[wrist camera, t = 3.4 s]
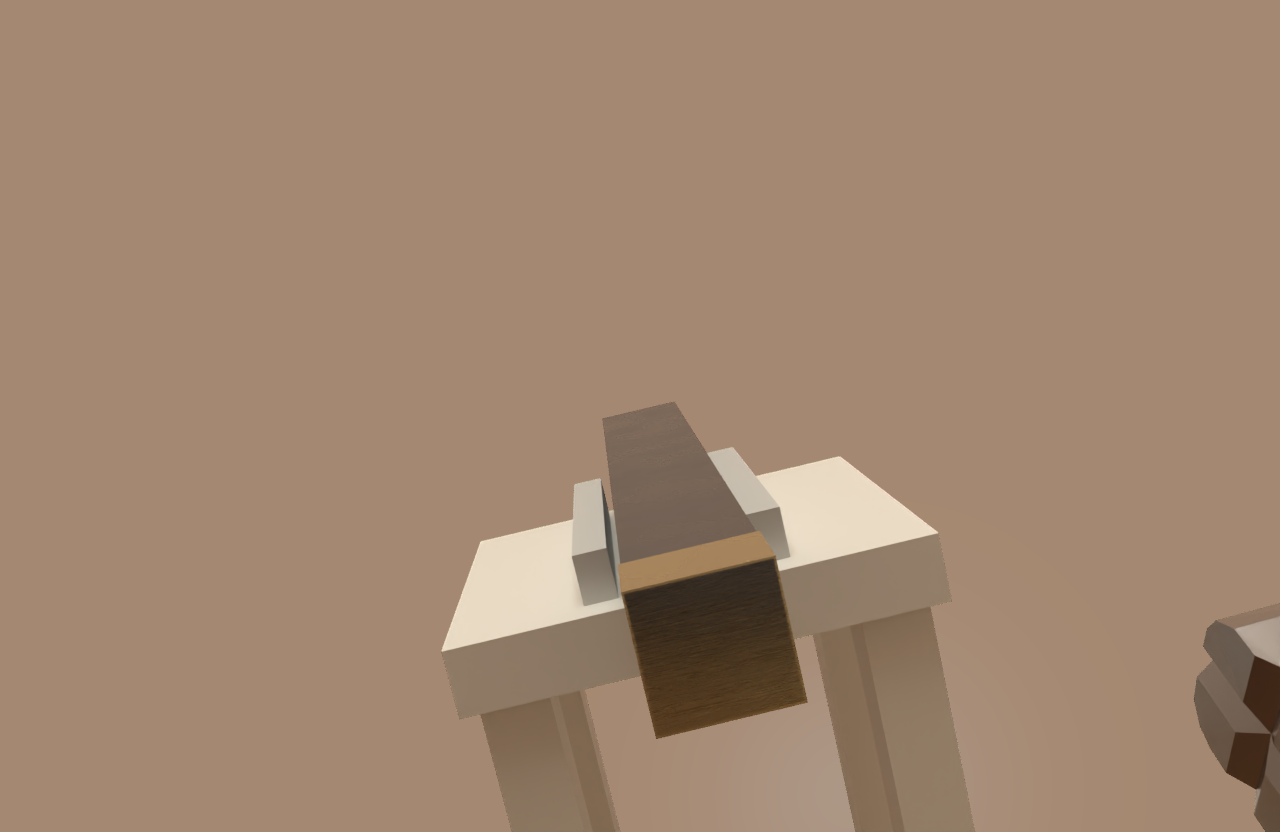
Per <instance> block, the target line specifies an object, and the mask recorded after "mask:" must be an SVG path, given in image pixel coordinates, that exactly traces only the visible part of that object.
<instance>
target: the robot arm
mask: <svg viewBox="0 0 1280 832" xmlns="http://www.w3.org/2000/svg"><path fill="white" fill-rule="evenodd" d="M1203 647H1204V648H1205V650H1206V651H1207V653H1208V654H1209V655H1210V657H1211V658H1212V659H1213V661H1212V662H1211V663H1210V664H1209V665H1208V666H1207V667H1206V668H1205V669H1204V670H1203V671H1202V672H1201V673H1200V674H1199V675H1198V676H1197V680H1196V688H1195V695H1194V702H1195V706H1196V711H1197V715H1198V720H1199V724H1200V727H1201V730H1202V732H1203V734H1204V736H1205V738H1206V740H1207V742H1208V744H1209V746H1210V748H1211V750H1212V752H1213V753H1214V755H1215V757H1216V758H1217V760H1218V761H1219V763H1220V764H1221V766H1222V767H1223V769H1224V770H1225V772H1226V773H1228V774H1229V775H1231V776H1233V777H1235V778H1237V779H1238V780H1240V781H1242V782H1244V783H1246V784H1247V785H1249V786H1251V787H1253V788H1254V789H1256V798H1255V811H1254V815H1255V817H1256V818H1257V820H1258V821H1259V823H1260V824H1261V826H1262V827H1263V829H1264V830H1265V832H1280V603H1279V604H1275V605H1271V606H1268V607H1264V608H1260V609H1257V610H1253V611H1249V612H1245V613H1242V614H1238V615H1235V616H1230V617H1227V618H1223V619H1219V620H1216V621H1215V622H1214V623H1213V624H1212V625H1210V626H1209V627H1208V628H1207V631H1206V636H1205V640H1204V645H1203Z"/></svg>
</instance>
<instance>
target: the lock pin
mask: <svg viewBox="0 0 1280 832" xmlns="http://www.w3.org/2000/svg"><path fill="white" fill-rule="evenodd" d="M603 427H604V435H605V443H606V451H607V460H608V468H609V476H610V484H611V492H612V500H613V509H614V517H615V525H616V533H617V541H618V550H619V558H620V564H618V572H619V580H620V589H621V595H622V599H623V603H624V607H625V612H626V616H627V620H628V624H629V628H630V632H631V636H632V641H633V645H634V649H635V653H636V657H637V661H638V665H639V670H640V674H641V678H642V681H643V686H644V690H645V694H646V698H647V702H648V706H649V711H650V715H651V719H652V723H653V727H654V731H655V736H656V739H658V738H662V737H666V736H671V735H675V734H679V733H683V732H687V731H691V730H695V729H699V728H703V727H708V726H712V725H716V724H720V723H725V722H729V721H733V720H737V719H741V718H745V717H749V716H753V715H758V714H762V713H766V712H770V711H774V710H778V709H783V708H787V707H791V706H795V705H799V704H803V703H807V697H806V693H805V688H804V683H803V679H802V674H801V670H800V665H799V660H798V656H797V651H796V647H795V642H794V638H793V633H792V628H791V624H790V619H789V615H788V610H787V606H786V601H785V596H784V592H783V587H782V583H781V578H780V574H779V569H778V564H777V560H776V555H775V554H774V552H773V551H772V549H771V548H770V546H769V545H768V543H767V541H766V540H765V538H764V537H763V535H762V534H761V532H760V531H756V530H755V528H754V527H753V525H752V524H751V522H750V520H749V519H748V517H747V516H746V514H745V512H744V511H743V509H742V508H741V506H740V505H739V503H738V501H737V500H736V498H735V497H734V495H733V494H732V492H731V490H730V489H729V487H728V486H727V484H726V482H725V481H724V479H723V478H722V476H721V475H720V473H719V471H718V470H717V468H716V467H715V465H714V463H713V462H712V460H711V459H710V457H709V456H708V454H707V453H706V451H705V449H704V448H703V446H702V445H701V443H700V441H699V440H698V438H697V437H696V435H695V433H694V432H693V430H692V429H691V427H690V426H689V424H688V423H687V421H686V419H685V418H684V416H683V415H682V413H681V411H680V410H679V408H678V407H677V405H676V403H675V402H671V403H666V404H662V405H658V406H654V407H650V408H645V409H641V410H637V411H633V412H628V413H624V414H620V415H615V416H612V417H607V418H603Z"/></svg>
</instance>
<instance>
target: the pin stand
mask: <svg viewBox="0 0 1280 832" xmlns="http://www.w3.org/2000/svg"><path fill="white" fill-rule="evenodd" d="M707 454H708V456H709V457H710V459H711V460H712V462H713V463H714V465H715V467H716V468H717V470H718V471H719V473H720V475H721V476H722V478H723V479H724V481H725V482H726V484H727V486H728V487H729V489H730V490H731V492H732V494H733V495H734V497H735V498H736V500H737V501H738V503H739V505H740V506H741V508H742V509H743V511H744V512H745V514H746V516H747V517H748V519H749V520H750V522H751V524H752V525H753V527H754V528H755V530H756V531H760V532H761V534H762V535H763V537H764V538H765V540H766V541H767V543H768V545H769V546H770V548H771V549H772V551H773V552H774V554H775V555H776V560H777V564H778V569H779V574H780V578H781V583H782V587H783V592H784V596H785V601H786V606H787V610H788V615H789V619H790V624H791V628H792V633H793V638H794V639H797V638H801V637H805V636H809V635H813V637H814V641H815V646H816V651H817V656H818V661H819V665H820V670H821V674H822V679H823V683H824V688H825V693H826V697H827V702H828V707H829V711H830V716H831V721H832V725H833V730H834V735H835V739H836V744H837V748H838V753H839V758H840V762H841V767H842V772H843V776H844V781H845V786H846V790H847V794H848V799H849V804H850V809H851V813H852V818H853V823H854V827H855V832H975V829H974V824H973V819H972V814H971V809H970V804H969V799H968V794H967V789H966V785H965V779H964V774H963V769H962V764H961V759H960V754H959V749H958V744H957V739H956V734H955V729H954V724H953V719H952V714H951V708H950V703H949V698H948V694H947V688H946V683H945V678H944V674H943V668H942V663H941V658H940V653H939V648H938V643H937V639H936V633H935V628H934V623H933V618H932V613H931V608H930V606H934V605H939V604H943V603H947V602H951V601H952V599H951V594H950V589H949V584H948V579H947V574H946V568H945V563H944V558H943V553H942V548H941V543H940V538H939V533H938V532H937V531H935V530H934V529H933V528H931V527H930V526H929V525H928V524H926V523H925V522H924V521H922V520H921V519H920V518H919V517H917V516H916V515H915V514H913V513H912V512H911V511H910V510H908V509H907V508H906V507H904V506H903V505H901V503H899V502H898V501H897V500H895V499H894V498H893V497H891V496H890V495H889V494H888V493H886V492H885V491H884V490H883V489H881V488H880V487H879V486H877V485H876V484H875V483H873V482H872V481H871V480H870V479H868V478H867V477H865V475H863V474H862V473H861V472H859V471H858V470H857V469H855V468H854V467H853V466H851V465H850V464H849V463H848V462H846V461H845V460H844V459H843V458H841V457H840V456H839V457H835V458H831V459H826V460H822V461H818V462H814V463H809V464H805V465H801V466H797V467H793V468H788V469H784V470H780V471H776V472H771V473H767V474H763V475H759V476H755V475H754V474H753V472H752V471H751V470H750V468H749V467H748V466H747V465H746V463H745V462H744V461H743V460H742V458H741V457H740V456H739V454H738V453H737V452H736V451H735V449H734V448H733V447H731V448H727V449H723V450H718V451H714V452H710V453H707ZM573 507H574V508H573V509H574V510H573V520H570V521H565V522H561V523H556V524H553V525H548V526H544V527H540V528H535V529H531V530H527V531H523V532H518V533H515V534H510V535H506V536H502V537H497V538H493V539H489V540H485V541H481V542H480V545H479V548H478V551H477V553H476V556H475V559H474V562H473V564H472V567H471V570H470V573H469V576H468V579H467V581H466V584H465V587H464V590H463V593H462V595H461V598H460V601H459V604H458V606H457V609H456V612H455V615H454V617H453V620H452V623H451V626H450V629H449V632H448V634H447V637H446V640H445V643H444V645H443V648H442V651H441V653H442V656H443V660H444V664H445V668H446V671H447V675H448V679H449V682H450V686H451V690H452V693H453V697H454V701H455V705H456V709H457V712H458V716H459V719H463V718H468V717H472V716H476V715H480V714H481V718H482V722H483V725H484V729H485V733H486V737H487V740H488V744H489V748H490V752H491V755H492V759H493V763H494V767H495V771H496V775H497V778H498V782H499V786H500V789H501V793H502V797H503V801H504V805H505V808H506V812H507V816H508V820H509V823H510V827H511V831H512V832H620V828H619V824H618V820H617V816H616V813H615V808H614V804H613V800H612V796H611V792H610V788H609V785H608V780H607V776H606V773H605V769H604V765H603V761H602V756H601V753H600V749H599V745H598V741H597V737H596V733H595V728H594V724H593V720H592V716H591V712H590V709H589V704H588V701H587V697H586V693H585V689H589V688H593V687H596V686H601V685H605V684H609V683H614V682H618V681H622V680H626V679H630V678H634V677H639V676H641V674H640V670H639V665H638V661H637V657H636V653H635V649H634V645H633V641H632V636H631V632H630V628H629V624H628V620H627V616H626V612H625V607H624V603H623V599H622V595H621V589H620V580H619V572H618V564H620V558H619V550H618V541H617V533H616V525H615V517H614V510H612V511H608V507H607V503H606V498H605V494H604V490H603V486H602V481H601V479H596V480H592V481H588V482H583V483H579V484H574V506H573Z"/></svg>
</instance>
